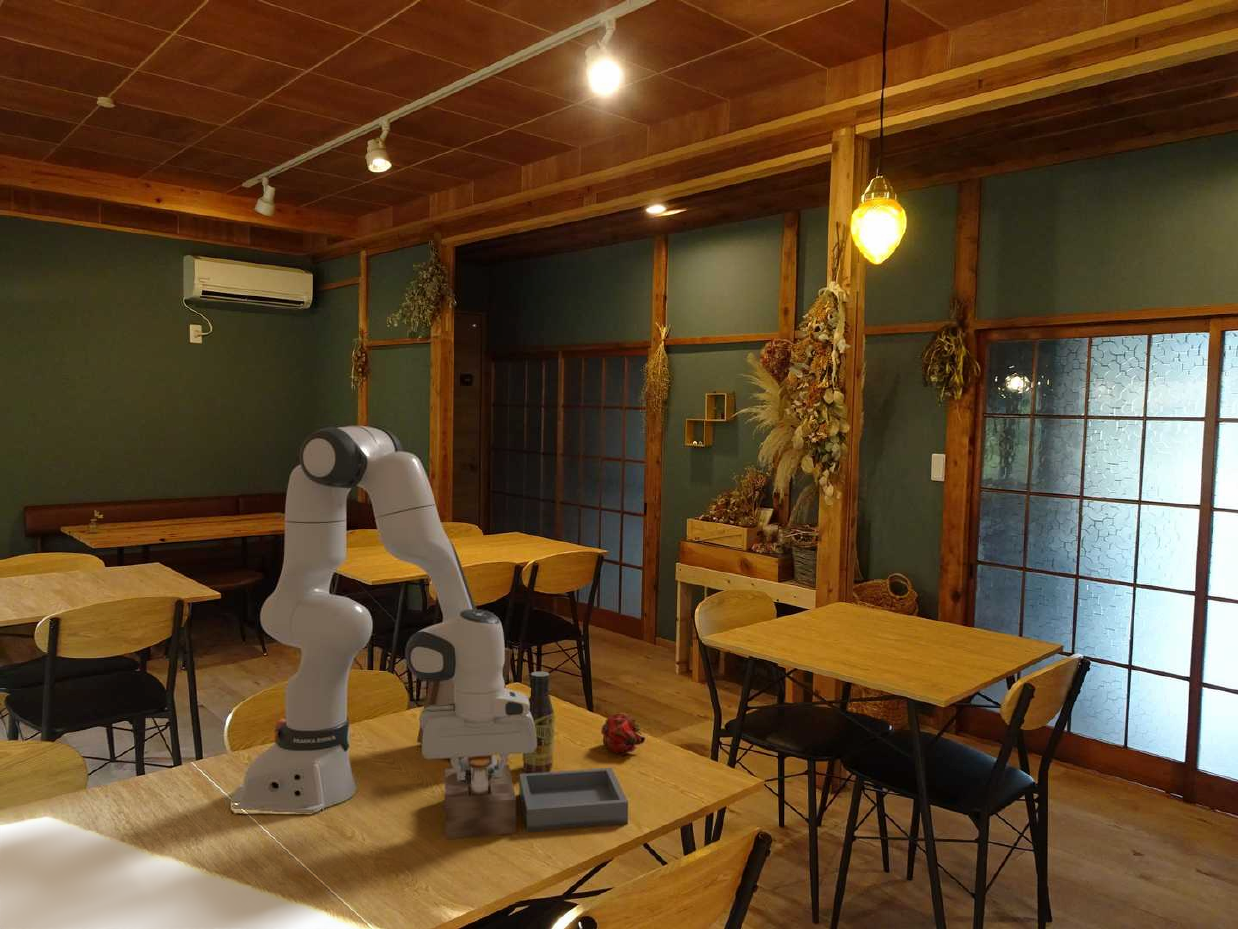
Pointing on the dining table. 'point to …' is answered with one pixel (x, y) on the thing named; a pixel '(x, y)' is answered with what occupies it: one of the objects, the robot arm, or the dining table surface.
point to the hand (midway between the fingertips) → (479, 778)
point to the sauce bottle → (541, 725)
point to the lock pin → (479, 774)
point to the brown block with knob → (479, 804)
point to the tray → (572, 799)
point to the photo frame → (452, 691)
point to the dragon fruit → (621, 733)
